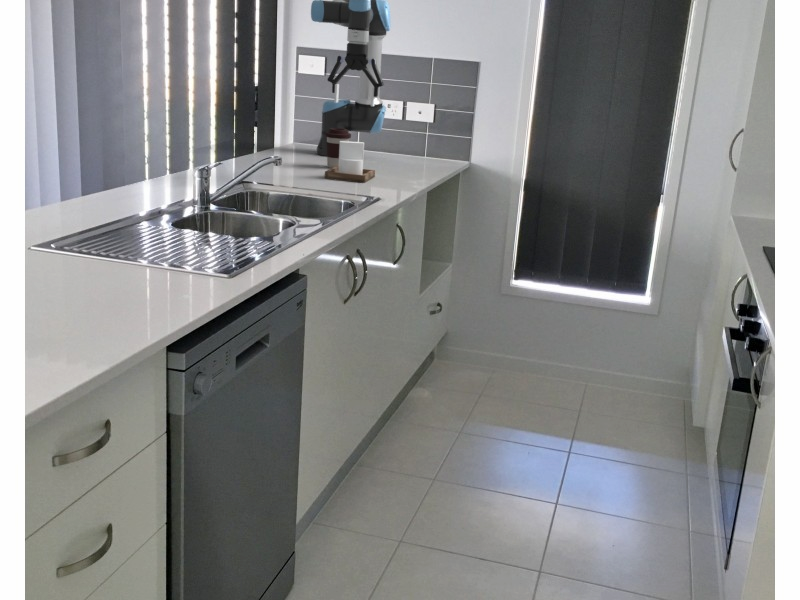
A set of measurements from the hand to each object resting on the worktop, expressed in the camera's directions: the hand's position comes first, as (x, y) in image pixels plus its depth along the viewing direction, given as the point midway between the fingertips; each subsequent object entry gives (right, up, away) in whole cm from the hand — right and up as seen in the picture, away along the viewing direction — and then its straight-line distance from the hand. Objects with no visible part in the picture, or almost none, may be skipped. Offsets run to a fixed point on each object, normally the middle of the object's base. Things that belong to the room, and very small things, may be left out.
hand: (354, 104), depth 307 cm
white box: (-2, -25, +7) cm, 26 cm away
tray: (-2, -25, +8) cm, 27 cm away
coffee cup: (-8, -19, +28) cm, 35 cm away
